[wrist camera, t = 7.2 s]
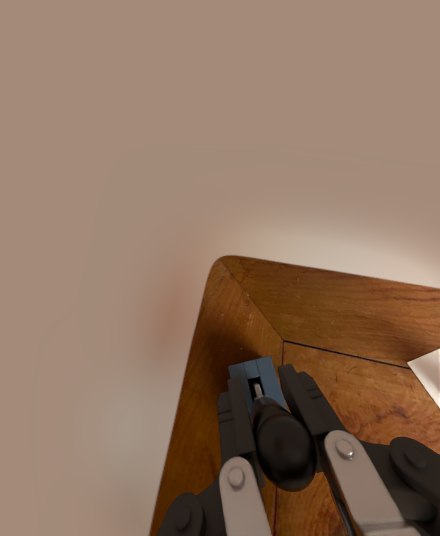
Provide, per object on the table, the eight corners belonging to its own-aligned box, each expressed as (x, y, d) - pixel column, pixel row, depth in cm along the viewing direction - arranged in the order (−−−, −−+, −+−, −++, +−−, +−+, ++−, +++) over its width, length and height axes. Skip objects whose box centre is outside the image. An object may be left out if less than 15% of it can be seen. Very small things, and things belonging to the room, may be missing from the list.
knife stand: (248, 443, 22) (250, 466, 16) (231, 367, 25) (228, 366, 20) (287, 433, 22) (301, 452, 17) (264, 359, 25) (270, 355, 20)
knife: (252, 420, 23) (278, 549, 6) (243, 383, 24) (243, 404, 8) (271, 415, 23) (351, 529, 6) (261, 378, 24) (301, 389, 8)
